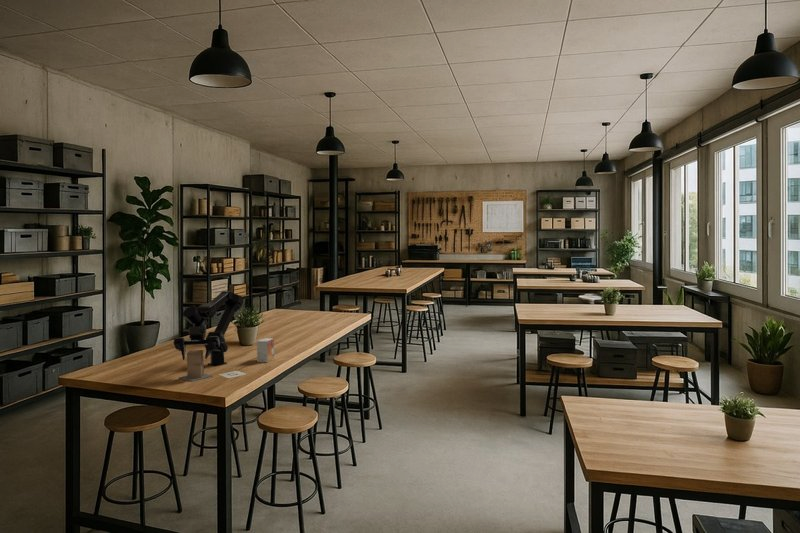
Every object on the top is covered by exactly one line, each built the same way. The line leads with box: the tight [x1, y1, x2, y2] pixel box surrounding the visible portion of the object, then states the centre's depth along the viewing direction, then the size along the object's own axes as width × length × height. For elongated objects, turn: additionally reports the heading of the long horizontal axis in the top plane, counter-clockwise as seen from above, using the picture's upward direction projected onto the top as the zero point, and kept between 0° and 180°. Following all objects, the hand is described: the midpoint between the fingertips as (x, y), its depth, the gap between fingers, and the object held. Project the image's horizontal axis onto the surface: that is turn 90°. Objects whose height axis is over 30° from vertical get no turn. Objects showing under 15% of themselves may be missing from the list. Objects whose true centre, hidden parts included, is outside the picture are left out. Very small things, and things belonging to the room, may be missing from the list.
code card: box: [218, 370, 247, 379], centre depth 232 cm, size 9×9×1 cm
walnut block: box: [186, 349, 205, 378], centre depth 227 cm, size 6×6×11 cm
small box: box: [256, 337, 275, 363], centre depth 257 cm, size 8×6×10 cm
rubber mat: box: [178, 372, 214, 383], centre depth 227 cm, size 10×10×1 cm
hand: (194, 359), depth 225 cm, fingers open, 9 cm apart
